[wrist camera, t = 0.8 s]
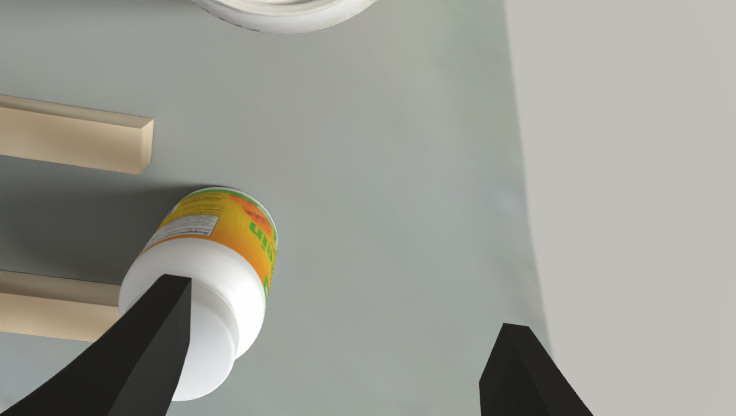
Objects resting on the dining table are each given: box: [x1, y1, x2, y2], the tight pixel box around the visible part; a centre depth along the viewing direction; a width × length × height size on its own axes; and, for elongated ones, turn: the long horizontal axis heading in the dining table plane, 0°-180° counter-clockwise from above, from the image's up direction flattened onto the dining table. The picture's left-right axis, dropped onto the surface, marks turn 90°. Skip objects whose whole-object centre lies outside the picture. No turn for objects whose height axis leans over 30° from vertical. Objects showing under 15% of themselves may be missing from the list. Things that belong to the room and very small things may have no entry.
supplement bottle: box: [118, 187, 278, 401], centre depth 25 cm, size 5×5×10 cm
